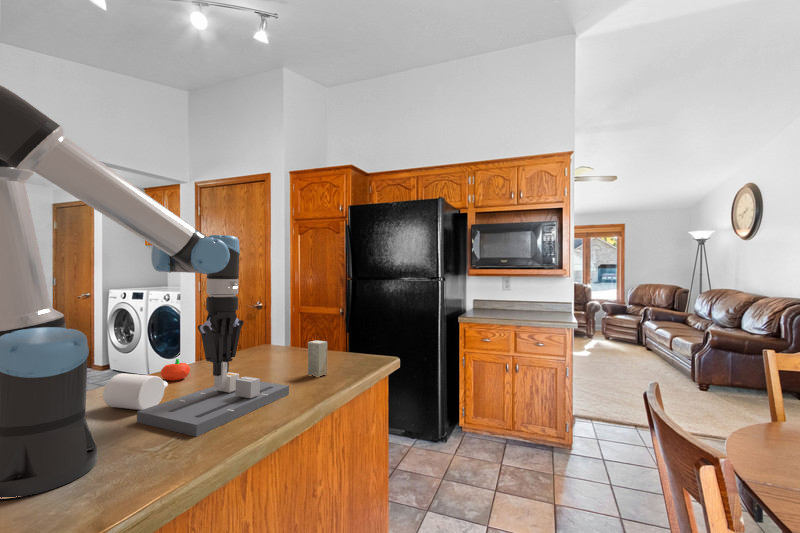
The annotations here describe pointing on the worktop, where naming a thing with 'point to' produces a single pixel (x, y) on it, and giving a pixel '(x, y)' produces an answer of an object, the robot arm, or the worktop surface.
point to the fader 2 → (247, 387)
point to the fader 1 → (230, 382)
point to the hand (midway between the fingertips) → (220, 387)
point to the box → (317, 358)
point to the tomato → (175, 371)
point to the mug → (134, 391)
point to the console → (207, 409)
